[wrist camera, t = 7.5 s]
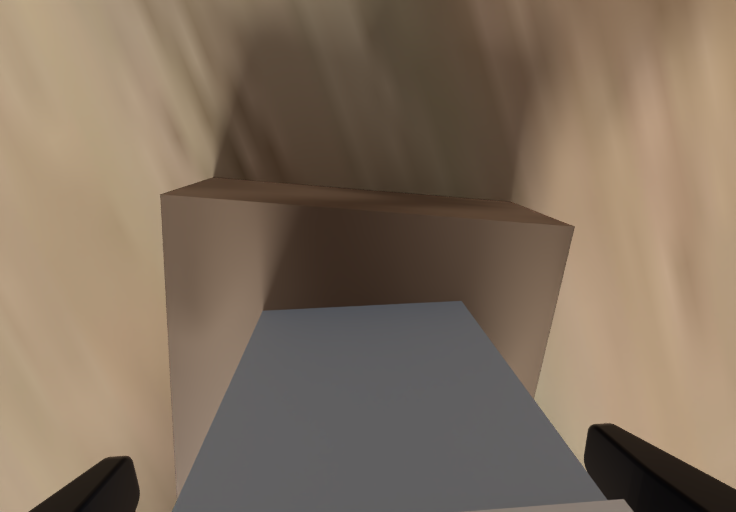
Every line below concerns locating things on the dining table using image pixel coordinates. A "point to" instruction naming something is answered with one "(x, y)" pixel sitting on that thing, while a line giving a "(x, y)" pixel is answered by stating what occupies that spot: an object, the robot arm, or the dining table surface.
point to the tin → (382, 422)
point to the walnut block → (341, 274)
